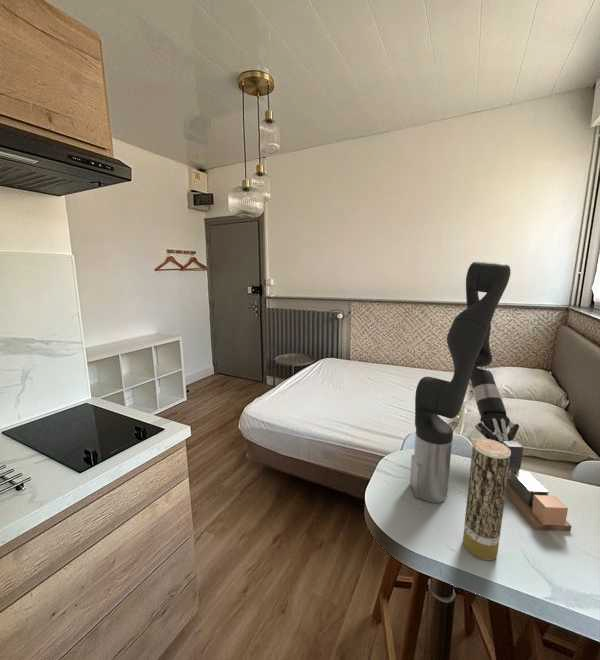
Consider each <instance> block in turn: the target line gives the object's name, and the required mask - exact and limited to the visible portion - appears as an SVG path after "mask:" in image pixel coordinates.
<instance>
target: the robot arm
mask: <svg viewBox="0 0 600 660" xmlns="http://www.w3.org/2000/svg"><path fill="white" fill-rule="evenodd" d="M510 277H511V267H510V266H509V264H508V263H503V262H493V261H480V260H479V261H473V262H472V263H470V265H469V267H468V268H467V271H466V277H465V294H466V295H465V296H466V297H465V298H466V308H465V309H464V310H462V311H461V312H460V313H459V314H457V315H456V317H454V320H453V321H452V324H451V325H450V328H449V330H448V333H447V336H446V344H447V347H448V351H449V353H450V356H451V358H452V359H451V360H452V362H453V369H454V371H453V376H452V379H451V380H450V381H448V380H445V379H440V378H437V377H433V376H424V377H422V378H421V379H420V380H419V382H418V384H417V385H416V390H415V395H414V396H415V397H414V401H415V403H414V426H415V440H414V454H411V462H410V463H411V464H410V476H409V485H410V488H411V490H412V491H413V494H414V496H415V498H416V499H421V500H423V501H425V502H429V503H432V504H433V503H437V504H438V503H442V502H444V501H446V500H447V499H448V498H447V497H448V491H449V480H450V470H451V469H450V468H451V457H452V447H453V446H452V445H453V436H454V433H453V432H454V431H453V428H452V426H451V425H450V424H448V423H447V422H446V421H444V420H443V419H442V418H441V417H443V418H447V419H454V418H456V417H457V416H458V415H459V413H460V411H461V409H462V407H463V404H464V402H465V397H466V394H467V392H468V391H467V390H468V387H469V385H470V384H469V383H471V387H472V389H473V396H474V400H475V403H476V406H477V409H478V413H479V416H480V418H479V419H480V422H478V423H477V424H476V425H475V426H474V428H475V429H476V430H477V431H478V432H479V433H481V435H483V436H484V437H485V439H491V440H494V441H497V442H500V443H503V441H513V440H514V439H515V437H516V435H517V433H518V432H519V431H518V430H519V428H520V425H519V424H518V423H514V422H512V421H511V420H510V417H508V415H507V410H506V408H505V405H504V401H503V399H502V396H501V393H500V391H499V389H498V387H497V383H496V381H495V378H494V376H493V373H492V371H490V370H489V369H482V368H483V367H484V368H485V367H489V366H490V365H491V363H492V361H493V355H492V351H491V348H490V336H491V330H492V324H491V323H492V320H493V317H494V316H495V315H494V314H495V311H496V309H497V307H498V305H499V303H500V301H501V298H502V296H503V294H504V293H505V290H506V288H507V286H508V284H509V281H510V279H511V278H510ZM479 293H485V295H484V296H483V297H482V298H481V299H480V297H479ZM481 367H482V368H481ZM507 429H508V430H509V431H508V430H507Z"/></svg>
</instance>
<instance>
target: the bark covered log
mask: <svg viewBox="0 0 600 660" xmlns="http://www.w3.org/2000/svg"><path fill="white" fill-rule="evenodd" d="M510 456H511V451H510V449H509V448H508V447H507V446H506V445H504V444H502V443H500V442H497V441H494V440H491V439H487V438H477V439H475V440H473V444H472V449H471V457H470V458H471V460H470V469H469V477H468V480H469V481H468V486H467V487H468V490H467V496H466V506H465V517H464V527H463V535H462V536H463V537H462V541H463V542H462V543H463V545H464V547H465V548H466V550H467V551H468V552H469V553H470V554H471V555H473V556H474V557H476V558H479V559H481V560H483V561H490V560H494V559H496V557H497V556H498V552H499V546H500V539H501V538H500V537H501V530H502V523H503V515H504V509H505V502H506V487H507V479H508V471H509V464H510Z"/></svg>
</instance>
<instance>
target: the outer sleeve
mask: <svg viewBox="0 0 600 660" xmlns="http://www.w3.org/2000/svg"><path fill="white" fill-rule="evenodd" d="M509 486H510V487H511V488H512V489H513V490H514V491H515V493H516V494H517V495H518V496H519V497H520V498H521V499H522V500H523V502H524V503H525V504H526V505H527V506H533V505H532V504H531V503H530V499H531V493H544V494H545V495H546V496H549V490H548V489H547V488H546V487H544V486H543V485H542V483H540V481H538V480H537V479H536V478H535V477H534V476H533V475H532V474H531V473H530V472H529V471H522V472H519V471H511V474H510V481H509Z"/></svg>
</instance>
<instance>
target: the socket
mask: <svg viewBox="0 0 600 660" xmlns="http://www.w3.org/2000/svg"><path fill="white" fill-rule="evenodd" d="M568 511H569V507H567V505H566V504H565V503H564V502H562V501H561V499H559V498H558V496H556V495H548V496H544V495H534V501H533V508H532V513H533V514H534V515H535V516H536V517H537V518H538V519H539V521H540V522H541V523H542V524H543V525H562V526H565V523H566V521H567V515H568Z"/></svg>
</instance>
